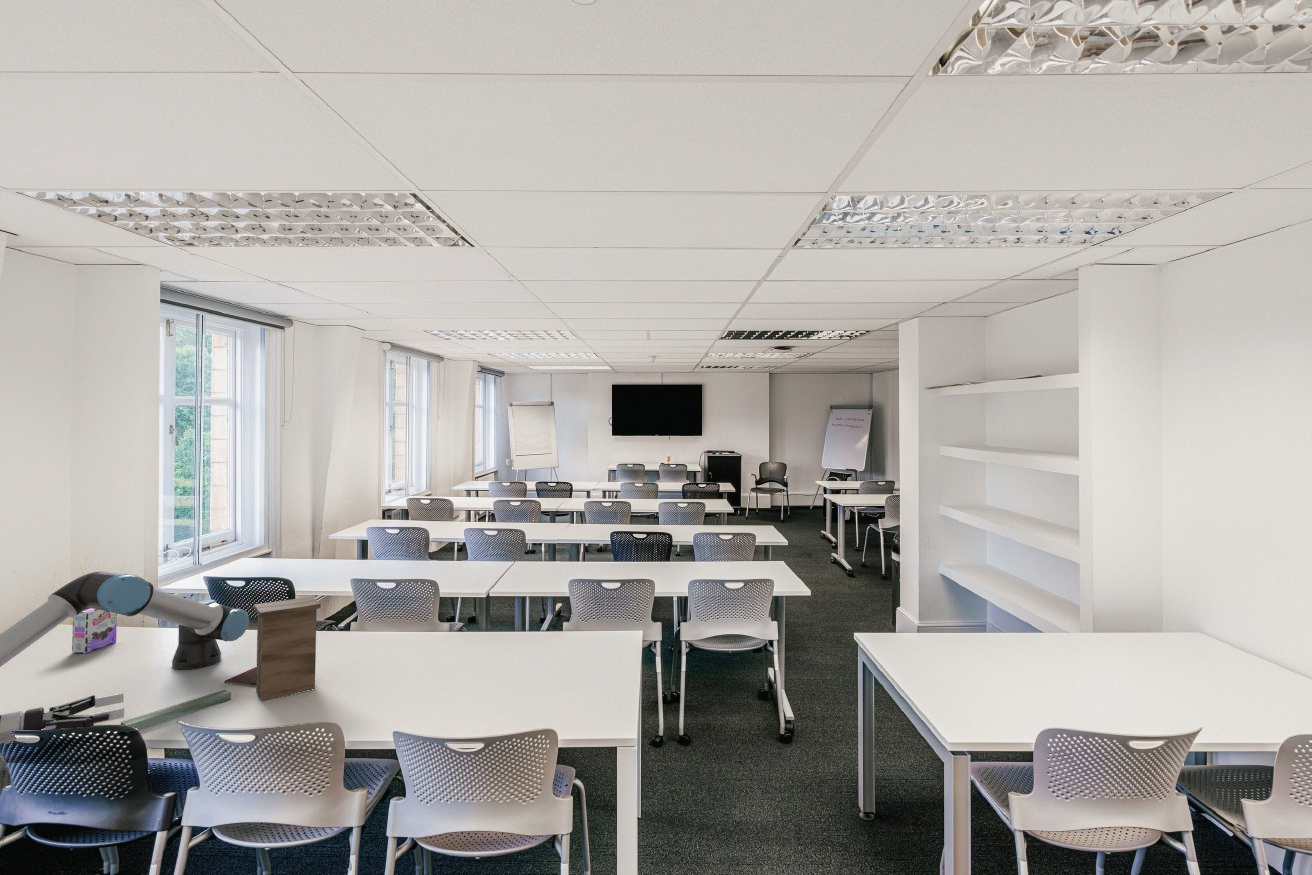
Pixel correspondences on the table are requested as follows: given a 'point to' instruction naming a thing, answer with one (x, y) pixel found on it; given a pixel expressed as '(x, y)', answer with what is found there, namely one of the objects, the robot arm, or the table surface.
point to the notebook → (244, 678)
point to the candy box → (93, 630)
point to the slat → (178, 710)
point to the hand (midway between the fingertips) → (124, 704)
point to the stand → (286, 647)
